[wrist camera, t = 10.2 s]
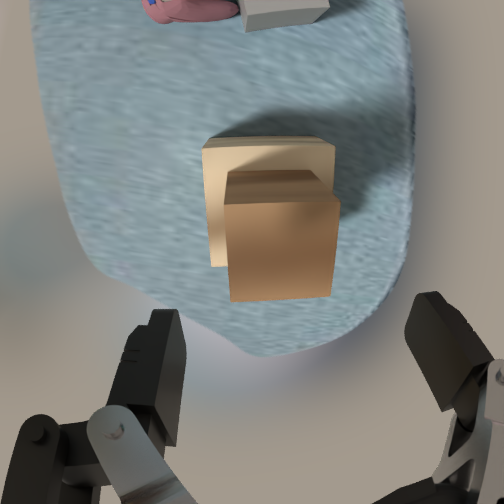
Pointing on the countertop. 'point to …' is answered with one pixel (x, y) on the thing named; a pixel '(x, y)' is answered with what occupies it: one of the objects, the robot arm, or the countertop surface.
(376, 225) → the countertop surface
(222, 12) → the video game controller
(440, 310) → the robot arm
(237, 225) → the walnut block
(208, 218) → the birch block
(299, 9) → the grey cube
